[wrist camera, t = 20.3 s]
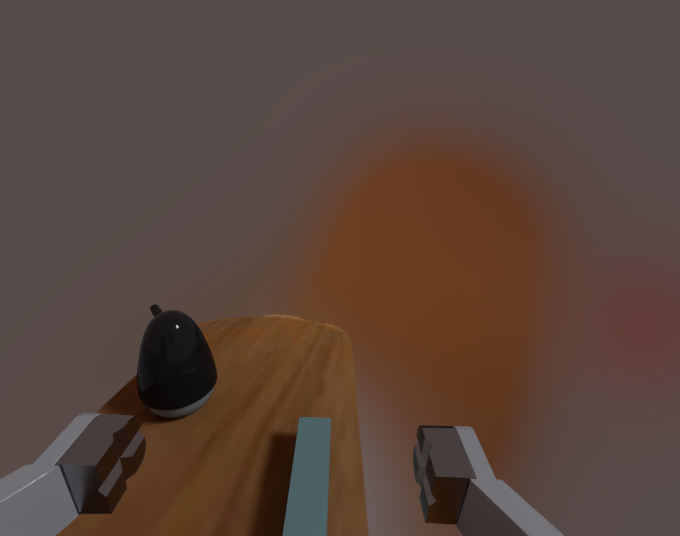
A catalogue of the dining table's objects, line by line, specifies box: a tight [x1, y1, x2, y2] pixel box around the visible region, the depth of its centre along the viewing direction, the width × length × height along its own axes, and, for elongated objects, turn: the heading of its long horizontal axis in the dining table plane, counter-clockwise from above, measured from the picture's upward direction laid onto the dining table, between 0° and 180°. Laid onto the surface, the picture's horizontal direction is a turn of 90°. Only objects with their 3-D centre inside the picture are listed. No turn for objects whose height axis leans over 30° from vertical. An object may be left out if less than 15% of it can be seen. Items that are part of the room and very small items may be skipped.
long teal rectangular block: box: [283, 417, 331, 536], centre depth 35 cm, size 4×19×4 cm, turn 0°
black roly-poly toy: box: [137, 305, 217, 418], centre depth 47 cm, size 10×10×15 cm
